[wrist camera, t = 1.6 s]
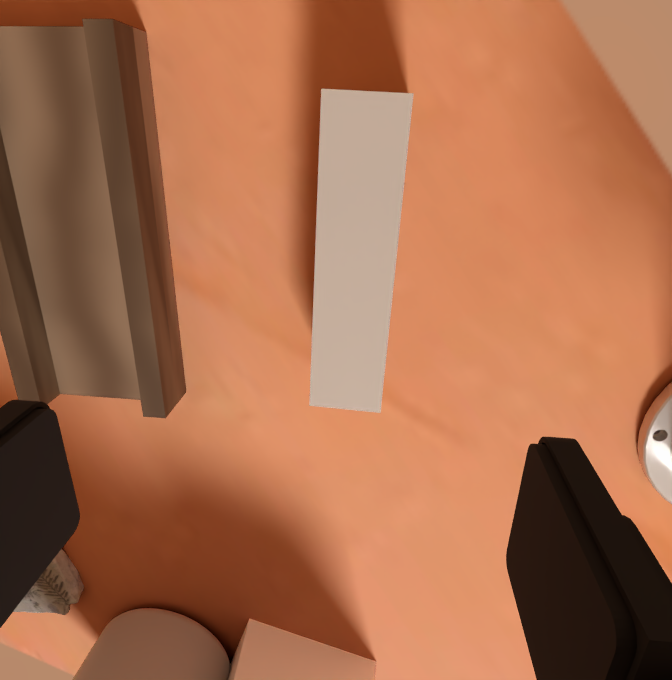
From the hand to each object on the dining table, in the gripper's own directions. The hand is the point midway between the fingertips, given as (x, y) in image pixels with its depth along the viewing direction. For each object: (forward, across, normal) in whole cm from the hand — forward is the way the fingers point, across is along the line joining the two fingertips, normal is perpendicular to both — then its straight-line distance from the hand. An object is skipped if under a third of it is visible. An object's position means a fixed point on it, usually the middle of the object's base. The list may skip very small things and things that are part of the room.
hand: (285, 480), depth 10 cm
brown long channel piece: (+22, +17, 0) cm, 28 cm away
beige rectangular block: (+22, 0, 0) cm, 22 cm away
